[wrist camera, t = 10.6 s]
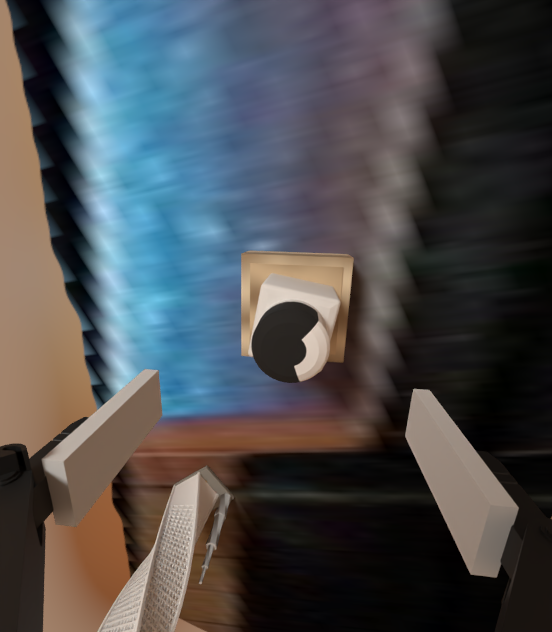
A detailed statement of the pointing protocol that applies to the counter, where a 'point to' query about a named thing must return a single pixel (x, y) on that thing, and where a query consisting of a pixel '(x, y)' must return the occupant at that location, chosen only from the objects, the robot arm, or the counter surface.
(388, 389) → the counter surface
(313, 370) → the medicine bottle
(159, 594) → the skyscraper
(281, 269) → the base block
